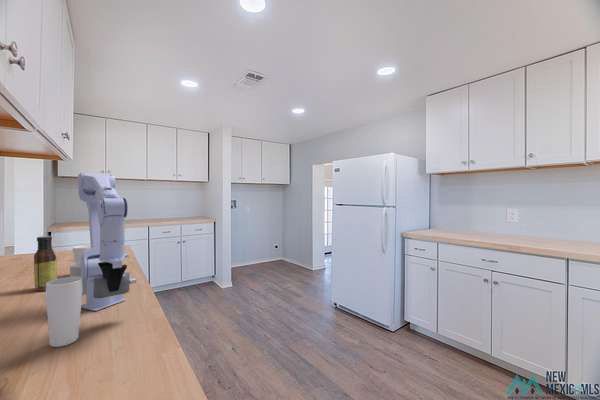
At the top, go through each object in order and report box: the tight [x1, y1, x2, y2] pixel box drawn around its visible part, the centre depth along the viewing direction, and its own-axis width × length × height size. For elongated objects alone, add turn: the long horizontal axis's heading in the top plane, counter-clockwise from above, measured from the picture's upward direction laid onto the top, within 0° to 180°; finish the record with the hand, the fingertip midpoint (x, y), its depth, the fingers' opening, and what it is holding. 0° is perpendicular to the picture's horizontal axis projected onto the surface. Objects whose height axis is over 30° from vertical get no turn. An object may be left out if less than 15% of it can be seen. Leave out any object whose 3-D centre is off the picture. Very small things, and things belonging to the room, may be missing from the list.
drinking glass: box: [45, 276, 84, 348], centre depth 66 cm, size 7×7×15 cm
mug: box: [69, 262, 87, 295], centre depth 101 cm, size 11×10×10 cm
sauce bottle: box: [33, 235, 58, 292], centre depth 102 cm, size 6×6×20 cm
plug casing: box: [93, 272, 137, 298], centre depth 77 cm, size 10×4×5 cm, turn 134°
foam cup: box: [72, 243, 91, 264], centre depth 120 cm, size 10×9×13 cm
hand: (112, 288), depth 76 cm, fingers closed on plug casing, 4 cm apart
